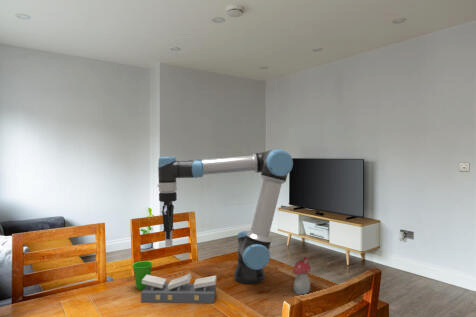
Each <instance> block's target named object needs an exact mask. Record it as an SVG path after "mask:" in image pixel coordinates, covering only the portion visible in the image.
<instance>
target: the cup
mask: <svg viewBox="0 0 476 317" xmlns="http://www.w3.org/2000/svg"><path fill="white" fill-rule="evenodd" d="M153 265H154V264H153V261H150V260H142V261H141V260H139V261H136V262H134V263H133V264H132V266H131V267H132V268H133V275H134V281H135V287H136V289H137V290H138V291H143V290H144V288H145V287H146V286H147V285H146V284H141V283H142V279H143V278H144V277H145V276H146V275H151V274H152V268H153Z"/></svg>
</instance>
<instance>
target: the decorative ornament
mask: <svg viewBox="0 0 476 317" xmlns="http://www.w3.org/2000/svg"><path fill="white" fill-rule="evenodd" d="M308 261H309V257H308V256H304V257H303V259H302V260H299V261H297V262H296V263H295V264H294V266H293V268H292V273H293V274H294V275H296V276H295V278H294V281H293V287H292V291H293V293H294V294H295V295H299V296H300V295H302V296H303V294H304V295H306V294H307V293H309V292H310V290H311V281H310V278H309V275H308V274H309V273H310V272H311V271H312V270H311V265H310V264H309V263H308Z"/></svg>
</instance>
